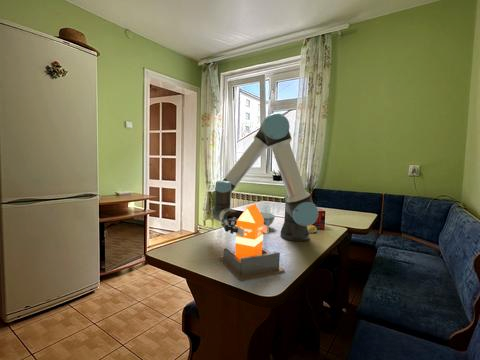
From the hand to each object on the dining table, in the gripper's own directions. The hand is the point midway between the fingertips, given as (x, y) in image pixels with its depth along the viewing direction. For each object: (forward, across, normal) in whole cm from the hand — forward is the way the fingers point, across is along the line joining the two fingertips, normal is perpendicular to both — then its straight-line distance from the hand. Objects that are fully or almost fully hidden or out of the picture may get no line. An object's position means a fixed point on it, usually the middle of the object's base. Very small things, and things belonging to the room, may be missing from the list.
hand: (255, 231), depth 92 cm
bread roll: (-34, -57, -15) cm, 68 cm away
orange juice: (-4, 0, -11) cm, 12 cm away
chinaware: (-50, -34, -14) cm, 62 cm away
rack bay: (-4, 0, -14) cm, 15 cm away
